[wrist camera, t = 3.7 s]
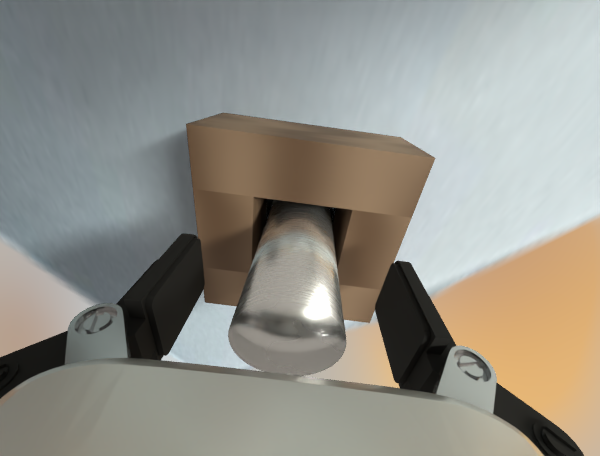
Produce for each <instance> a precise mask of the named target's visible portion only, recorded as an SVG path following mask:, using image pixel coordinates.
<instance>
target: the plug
mask: <svg viewBox="0 0 600 456" xmlns="http://www.w3.org/2000/svg"><path fill="white" fill-rule="evenodd" d="M228 337H229V342H230V345H231V347H232V349H233V351H234V352H235V353H236V355H237V356H238V357H239V358H240V359H242V360H243V361H244V362H246V363H247V364H249V365H250V366H252V367H254V368H256V369H259V370H261V371H264V372H270V373H279V374H287V375H296V376H304V375H310V374H314V373H318V372H320V371H323V370H325V369H327V368H329V367H331V366H332V365H334V364H335V363H336V362H337V361H338V360H339V359H340V358H341V357H342V355H343V353H344V351H345V348H346V334H345V326H344V318H343V310H342V302H341V294H340V286H339V278H338V270H337V262H336V254H335V247H334V239H333V231H332V223H331V215H330V207H327V206H319V205H312V204H304V203H297V202H289V201H282V200H274V202H273V204H272V207H271V210H270V213H269V216H268V219H267V222H266V224H265V227H264V230H263V233H262V236H261V239H260V242H259V245H258V247H257V250H256V253H255V256H254V259H253V262H252V265H251V267H250V270H249V273H248V276H247V279H246V282H245V285H244V287H243V290H242V293H241V296H240V299H239V302H238V305H237V307H236V310H235V313H234V316H233V319H232V322H231V325H230V328H229V333H228Z"/></svg>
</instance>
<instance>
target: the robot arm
mask: <svg viewBox="0 0 600 456" xmlns="http://www.w3.org/2000/svg"><path fill="white" fill-rule="evenodd" d="M204 285H205V279H204V269H203V259H202V249H201V240H200V239H199V238H197V236H196V235H192V234H184V233H183V234H181V235H180V236H179V237H178V238H177V239H176V241H175V242H174V243H173V244H172V245H171V246H170V247H169V248H168V250H167V251H166V252H165V253H164V254H163V255H162V256H161V257H160V259H159V260H156V261H155V262H154V263H153V264H152V265H151V266H150V267H149V269H148V270H147V271H146V272H145V273H144V274H143V275H142V276H141V277H140V278H139V280H138V281H137V282H136V283H135V284H134V285H133V286H132V287H131V288H130V290H129V291H128V292H127V293H126V294H125V295H124V296H123V297H122V298H121V299H120V301H119V302H118V303H117V304H113V303H103V304H98V305H95V306H92V307H90V308H87V309H86V310H84V311H82V312H81V313H79V314H78V315H77V316H76V317H74V319H73V320H72V321H71V322H70V325H69V327H68V331H66V332H64V333H61V334H58V335H56V336H53V337H51V338H48V339H46V340H43V341H41V342H38V343H36V344H33V345H30V346H28V347H25V348H23V349H20V350H18V351H15V352H13V353H10V354H8V355H6V356H3V357H0V456H584V455H583V453H582V451H581V450H580V449H579V447H578V446H577V445H576V443H575V442H574V441H573V440H572V439H571V438H570V437H569V436H568V435H567V434H566V433H565V432H564V431H562V430H561V429H560V428H559V427H558V426H556V425H555V424H554V423H552V422H551V421H549V420H548V419H546V418H545V417H544V416H542V415H541V414H540V413H538V412H537V411H535V410H534V409H533V408H531V407H530V406H529V405H527V404H526V403H524V402H523V401H522V400H520V399H518V398H517V397H516V396H515V395H513V394H512V393H510V392H509V391H508V390H506V389H505V388H503V387H502V386H501V385H499V384H498V383H496V381H497V379H496V374H495V371H494V369H493V367H492V366H491V365H490V363H489V362H488V361H487V360H486V359H485V358H484V357H483V356H482V355H480V354H479V353H477V352H476V351H474V350H472V349H470V348H468V347H464V346H456V344H455V342H454V341H453V339H452V337H451V335H450V333H449V332H448V330H447V328H446V326H445V324H444V322H443V321H442V319H441V317H440V315H439V313H438V312H437V310H436V308H435V306H434V304H433V302H432V301H431V299H430V297H429V296H428V294H427V292H426V290H425V289H424V287H423V285H422V283H421V281H420V279H419V278H418V276H417V274H416V272H415V270H414V268H413V267H412V265H411V263H409V262H403V261H396V262H395V264H394V263H392V264H391V266H390V268H389V271H388V273H387V276H386V278H385V281H384V283H383V286H382V288H381V291H380V294H379V296H378V299H377V301H376V304H375V312H376V316H377V319H378V323H379V327H380V330H381V334H382V337H383V341H384V345H385V348H386V352H387V356H388V359H389V363H390V367H391V370H392V374H393V378H394V380H395V382H396V383H399V386H400V388H393V387H385V386H378V385H370V384H362V383H353V382H345V381H337V380H328V379H321V378H313V377H304V376H296V375H287V374H279V373H270V372H262V371H253V370H245V369H236V368H227V367H218V366H209V365H200V364H191V363H182V362H171V361H161V358H162V357H163V355H167V354H168V353H169V352H170V350H171V348H172V346H173V344H174V343H175V341H176V339H177V337H178V335H179V333H180V332H181V330H182V328H183V326H184V324H185V322H186V321H187V319H188V317H189V315H190V313H191V311H192V309H193V308H194V306H195V304H196V302H197V300H198V298H199V297H200V295H201V293H202V291H203V289H204Z"/></svg>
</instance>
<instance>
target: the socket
mask: <svg viewBox="0 0 600 456" xmlns="http://www.w3.org/2000/svg"><path fill="white" fill-rule="evenodd" d="M186 128H187V137H188V147H189V156H190V166H191V175H192V185H193V194H194V203H195V213H196V222H197V232H198V238H199V239H200V240H201V249H202V259H203V269H204V279H205V285H204V298H205V302H206V303H214V304H222V305H231V306H237V305H238V302H239V299H240V296H241V293H242V290H243V287H244V285H245V282H246V279H247V276H248V273H249V270H250V267H251V265H252V262H253V259H254V256H255V253H256V250H257V247H258V245H259V242H260V239H261V236H262V233H263V230H264V227H265V224H266V213H267V199H274V200H282V201H289V202H297V203H304V204H312V205H319V206H327V207H334V208H336V210H335V215H334V220H333V224H332V231H333V239H334V247H335V254H336V262H337V270H338V278H339V286H340V294H341V302H342V310H343V318H344V320H351V321H359V322H367V323H370V321H371V318H372V316H373V313H374V311H375V304H376V301H377V299H378V296H379V294H380V291H381V288H382V286H383V283H384V281H385V278H386V276H387V273H388V271H389V268H390V266H391V264H392V263H394V260H395V258H396V255H397V253H398V250H399V248H400V245H401V243H402V240H403V238H404V235H405V233H406V230H407V228H408V225H409V223H410V220H411V218H412V215H413V213H414V210H415V208H416V205H417V203H418V200H419V198H420V195H421V193H422V190H423V188H424V185H425V183H426V180H427V178H428V175H429V173H430V170H431V168H432V165H433V163H434V160H435V158H434V157H433V156H431V155H429V154H428V153H426V152H424V151H423V150H421V149H419V148H418V147H416V146H414V145H413V144H411V143H409V142H408V141H406V140H404V139H403V138H401V137H395V136H387V135H380V134H373V133H366V132H358V131H351V130H344V129H337V128H330V127H322V126H315V125H308V124H301V123H293V122H286V121H279V120H272V119H264V118H257V117H250V116H243V115H235V114H228V113H221V114H217V115H214V116H211V117H208V118H204V119H201V120H198V121H194V122H191V123H188V124H186Z"/></svg>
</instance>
